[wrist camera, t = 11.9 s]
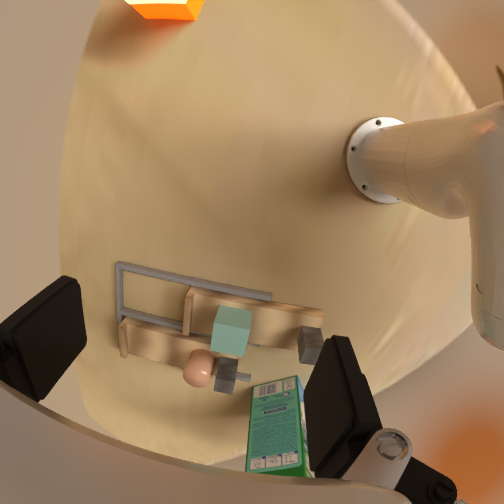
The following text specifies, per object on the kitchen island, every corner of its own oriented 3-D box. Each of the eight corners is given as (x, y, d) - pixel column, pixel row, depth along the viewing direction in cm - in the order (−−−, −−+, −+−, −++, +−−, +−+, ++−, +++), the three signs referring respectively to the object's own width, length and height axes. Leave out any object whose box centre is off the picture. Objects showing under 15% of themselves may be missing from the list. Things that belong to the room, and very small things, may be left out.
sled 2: (321, 310, 45) (330, 339, 38) (309, 343, 48) (315, 374, 40) (191, 285, 45) (177, 311, 38) (188, 321, 47) (175, 349, 40)
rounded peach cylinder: (216, 352, 46) (211, 371, 42) (213, 370, 48) (208, 389, 43) (190, 346, 46) (183, 365, 42) (189, 364, 48) (182, 383, 43)
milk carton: (309, 402, 53) (319, 509, 29) (267, 412, 54) (263, 516, 31) (297, 374, 50) (306, 493, 27) (251, 386, 52) (241, 500, 28)
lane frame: (271, 293, 45) (272, 296, 44) (250, 377, 51) (249, 381, 50) (118, 260, 45) (115, 263, 44) (122, 346, 51) (119, 350, 50)
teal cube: (252, 311, 43) (250, 329, 38) (246, 337, 45) (244, 357, 40) (219, 304, 43) (213, 322, 38) (215, 331, 45) (209, 350, 40)
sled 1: (241, 342, 48) (236, 373, 41) (235, 370, 50) (230, 401, 43) (127, 315, 48) (107, 340, 40) (128, 344, 50) (111, 370, 43)
